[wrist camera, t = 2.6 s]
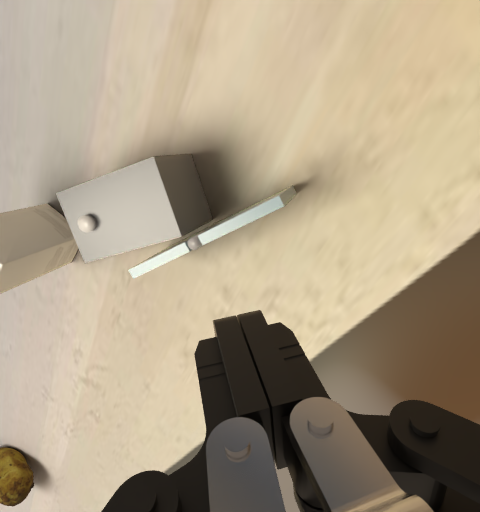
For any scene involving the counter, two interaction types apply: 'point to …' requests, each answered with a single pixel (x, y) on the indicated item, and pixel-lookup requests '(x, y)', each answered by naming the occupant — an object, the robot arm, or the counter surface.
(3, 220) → the skincare box
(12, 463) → the potato
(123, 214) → the block
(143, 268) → the side door
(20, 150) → the counter surface
